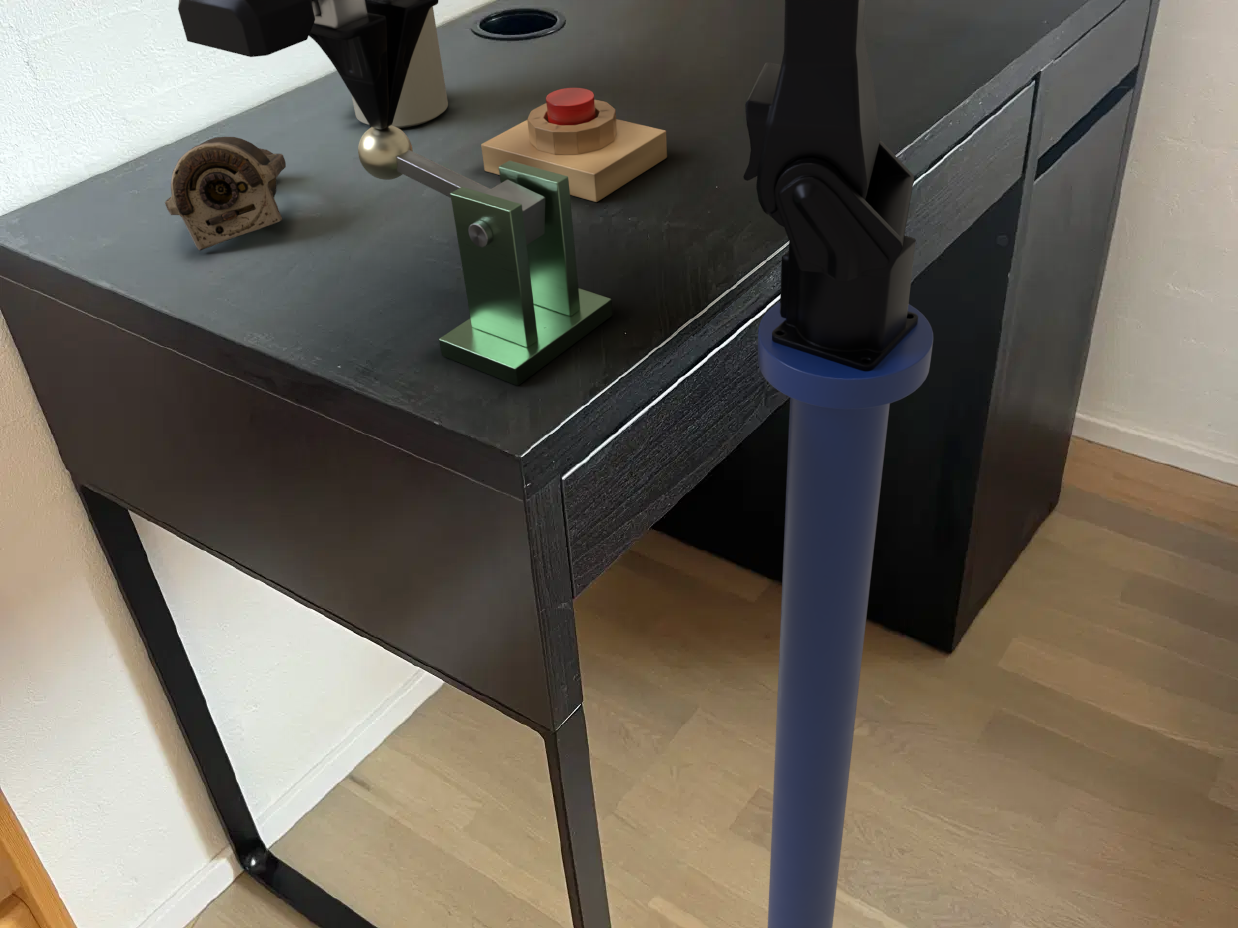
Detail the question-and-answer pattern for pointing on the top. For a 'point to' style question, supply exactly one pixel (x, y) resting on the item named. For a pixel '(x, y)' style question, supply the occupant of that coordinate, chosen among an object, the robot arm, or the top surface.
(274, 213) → the mechanical counter
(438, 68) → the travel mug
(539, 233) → the lever
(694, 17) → the top surface
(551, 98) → the button
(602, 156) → the button block
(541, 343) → the bracket
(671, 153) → the top surface
